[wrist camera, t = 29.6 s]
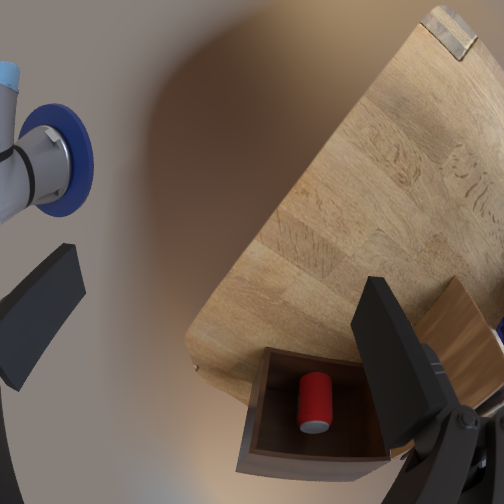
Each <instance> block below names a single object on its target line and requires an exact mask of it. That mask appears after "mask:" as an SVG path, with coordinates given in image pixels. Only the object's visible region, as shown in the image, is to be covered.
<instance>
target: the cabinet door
mask: <svg viewBox="0 0 504 504" xmlns="http://www.w3.org/2000/svg"><path fill="white" fill-rule="evenodd" d="M413 330H414V332H415V334H416V336H417V338H418V340H419V342H420V343H427V344H428V345H429V346H430V347H431V348H432V349H433V350H434V351H435V352H436V354H437V356H438V358H439V360H440V362H441V365H442V366H443V368H444V370H445V373H446V374H447V376H448V378H449V380H450V382H451V384H452V386H453V389H454V391H455V393H456V395H457V397H458V400H459V402H460V404H461V405H466V406H469V407H471V408H472V409H476V408H477V407H478V406H479V405H481V404H482V403H483V402H484V401H486V400H487V399H488V398H489V397H491V396H492V395H493V394H494V393H495V392H496V391H498V390H499V389H500V388H501V387H502V386H503V385H504V354H503V352H502V350H501V348H500V346H499V344H498V342H497V340H496V338H495V336H494V334H493V332H492V331H491V329H490V327H489V325H488V323H487V322H486V320H485V318H484V316H483V315H482V313H481V311H480V310H479V308H478V306H477V305H476V303H475V301H474V300H473V298H472V297H471V295H470V294H469V292H468V290H467V289H466V287H465V286H464V284H463V283H462V281H461V280H460V278H459V277H457V276H455V277H454V278H453V280H452V281H451V282H450V284H449V285H448V286H447V288H446V289H445V290H444V291H443V293H442V294H441V295H440V296H439V298H438V299H437V300H436V301H435V303H434V304H433V305H432V306H431V307H430V309H429V310H428V311H427V312H426V313H425V315H424V316H423V317H422V318H421V319H420V320H419V321H418V323H417V324H416V325H415V326H414V327H413ZM414 446H415V444H414V440H413V439H412V440H411V441H410V442H409V443H408V444H406V445H405V446H404V447H399V448H394V449H391V458H393V459H395V458H398V457H400V456H402V455H404V454H405V453H406V452H408V451H409V450H410V449H411V448H412V447H414Z"/></svg>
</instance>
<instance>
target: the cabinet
mask: <svg viewBox="0 0 504 504" xmlns="http://www.w3.org/2000/svg"><path fill="white" fill-rule="evenodd" d="M312 372H321V373H325V374H327V375H329V376H330V378H331V381H332V408H333V420H332V422H331V424H330V426H329V429H328V430H327V431H325V432H322V433H316V434H310V433H305V432H302V431H301V430H300V427H299V425H298V423H297V410H298V394H299V381H300V379H301V377H303V376H304V375H306V374H309V373H312ZM390 461H391V457H390V449H389V450H386V449H385V445H384V440H383V436H382V432H381V428H380V424H379V420H378V416H377V412H376V408H375V405H374V401H373V397H372V394H371V390H370V386H369V383H368V379H367V376H366V373H365V369H364V366H363V364H362V363H355V362H348V361H341V360H334V359H328V358H322V357H316V356H311V355H305V354H300V353H295V352H289V351H284V350H280V349H275V348H270V347H266V349H265V352H264V354H263V357H262V360H261V363H260V365H259V368H258V371H257V373H256V376H255V379H254V381H253V384H252V390H251V395H250V401H249V406H248V411H247V416H246V422H245V427H244V432H243V437H242V442H241V448H240V452H239V457H238V463H237V468H236V472H239V473H244V474H250V475H257V476H264V477H271V478H280V479H290V480H303V481H304V480H305V481H327V482H329V481H330V482H336V481H337V482H342V481H344V482H345V481H355V480H356V479H359V478H361V477H362V476H365V475H367V474H368V473H370V472H372V471H374V470H376V469H378V468H379V467H381V466H383V465H385V464H386V463H388V462H390Z"/></svg>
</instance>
